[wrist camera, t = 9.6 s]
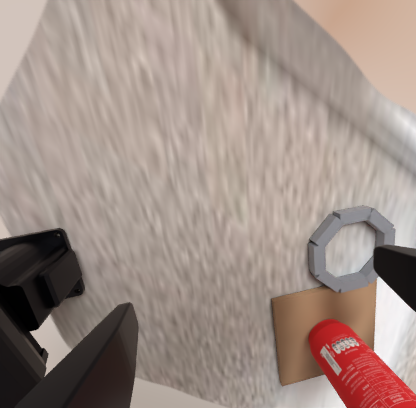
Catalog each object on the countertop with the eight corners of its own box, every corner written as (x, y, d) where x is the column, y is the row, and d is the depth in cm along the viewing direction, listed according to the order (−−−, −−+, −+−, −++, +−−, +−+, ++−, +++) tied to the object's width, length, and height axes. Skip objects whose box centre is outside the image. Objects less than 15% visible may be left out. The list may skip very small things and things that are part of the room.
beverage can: (349, 313, 25) (496, 452, 14) (342, 350, 26) (471, 506, 15) (307, 317, 24) (424, 468, 13) (302, 355, 26) (404, 523, 14)
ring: (310, 293, 24) (315, 299, 24) (306, 217, 22) (312, 220, 21) (383, 275, 25) (392, 280, 24) (387, 200, 23) (397, 202, 22)
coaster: (279, 381, 27) (282, 386, 26) (271, 298, 24) (273, 302, 23) (369, 356, 28) (373, 360, 28) (372, 274, 25) (376, 277, 24)
